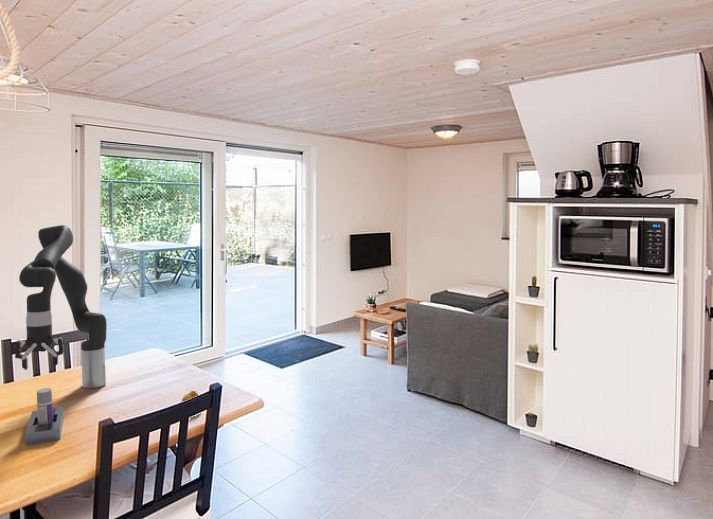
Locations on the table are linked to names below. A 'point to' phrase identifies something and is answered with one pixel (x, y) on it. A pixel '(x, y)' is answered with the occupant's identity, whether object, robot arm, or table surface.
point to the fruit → (189, 395)
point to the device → (44, 428)
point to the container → (44, 406)
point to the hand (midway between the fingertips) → (40, 367)
